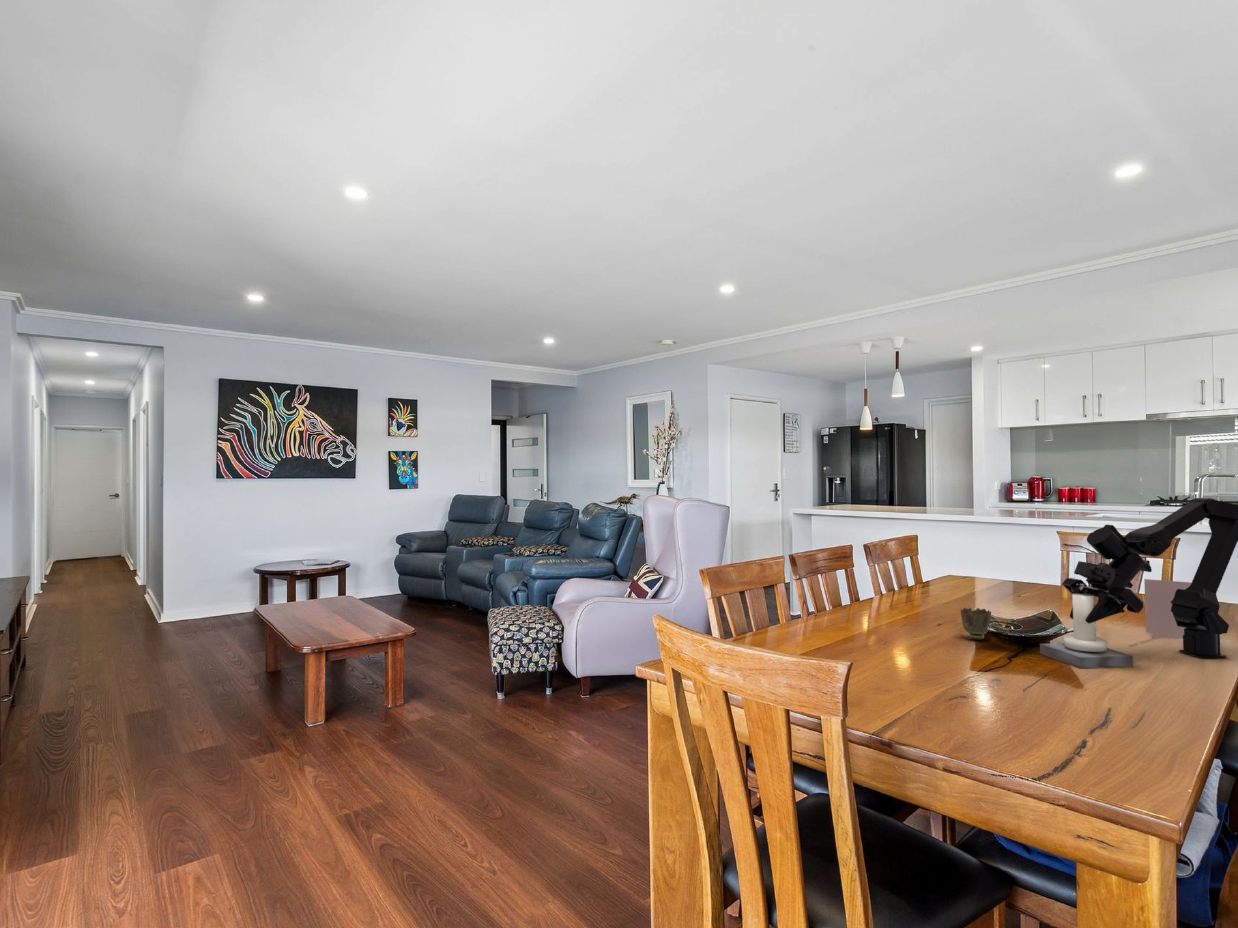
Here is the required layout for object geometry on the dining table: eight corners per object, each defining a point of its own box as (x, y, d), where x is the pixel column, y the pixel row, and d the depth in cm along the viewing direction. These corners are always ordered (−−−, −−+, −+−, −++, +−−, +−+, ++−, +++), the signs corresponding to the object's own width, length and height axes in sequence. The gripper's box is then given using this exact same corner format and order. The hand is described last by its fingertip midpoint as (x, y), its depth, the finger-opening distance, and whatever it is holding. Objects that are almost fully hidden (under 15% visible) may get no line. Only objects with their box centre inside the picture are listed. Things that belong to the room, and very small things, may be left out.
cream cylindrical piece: (1102, 644, 163) (1100, 593, 163) (1111, 652, 155) (1109, 599, 155) (1061, 641, 166) (1059, 591, 167) (1068, 649, 159) (1066, 597, 159)
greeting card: (1199, 638, 181) (1198, 582, 181) (1198, 643, 175) (1196, 586, 176) (1146, 631, 189) (1144, 578, 189) (1143, 636, 183) (1141, 581, 184)
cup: (962, 641, 180) (961, 611, 180) (959, 635, 187) (959, 606, 187) (993, 643, 177) (993, 613, 178) (989, 637, 184) (989, 608, 184)
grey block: (1088, 651, 168) (1088, 641, 168) (1133, 666, 155) (1132, 655, 155) (1040, 653, 167) (1040, 643, 167) (1081, 668, 154) (1080, 657, 154)
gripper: (1067, 546, 171) (1028, 590, 170) (1130, 554, 152) (1087, 604, 151) (1097, 575, 172) (1058, 620, 170) (1162, 587, 153) (1120, 637, 152)
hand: (1079, 619), depth 161 cm, fingers closed on cream cylindrical piece, 4 cm apart
